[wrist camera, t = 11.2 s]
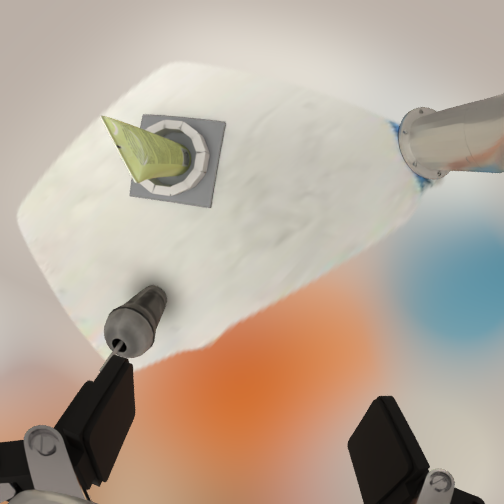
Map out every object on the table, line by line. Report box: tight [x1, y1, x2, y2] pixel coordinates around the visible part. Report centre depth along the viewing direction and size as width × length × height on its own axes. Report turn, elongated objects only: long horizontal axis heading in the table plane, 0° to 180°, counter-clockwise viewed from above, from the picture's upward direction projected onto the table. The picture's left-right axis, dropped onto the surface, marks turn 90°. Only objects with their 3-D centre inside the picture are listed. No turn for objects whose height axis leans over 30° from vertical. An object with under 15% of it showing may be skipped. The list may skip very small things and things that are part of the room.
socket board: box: [130, 115, 226, 208], centre depth 39 cm, size 13×13×5 cm
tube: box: [100, 116, 191, 183], centre depth 31 cm, size 6×5×20 cm
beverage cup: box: [100, 286, 167, 372], centre depth 37 cm, size 7×7×20 cm
